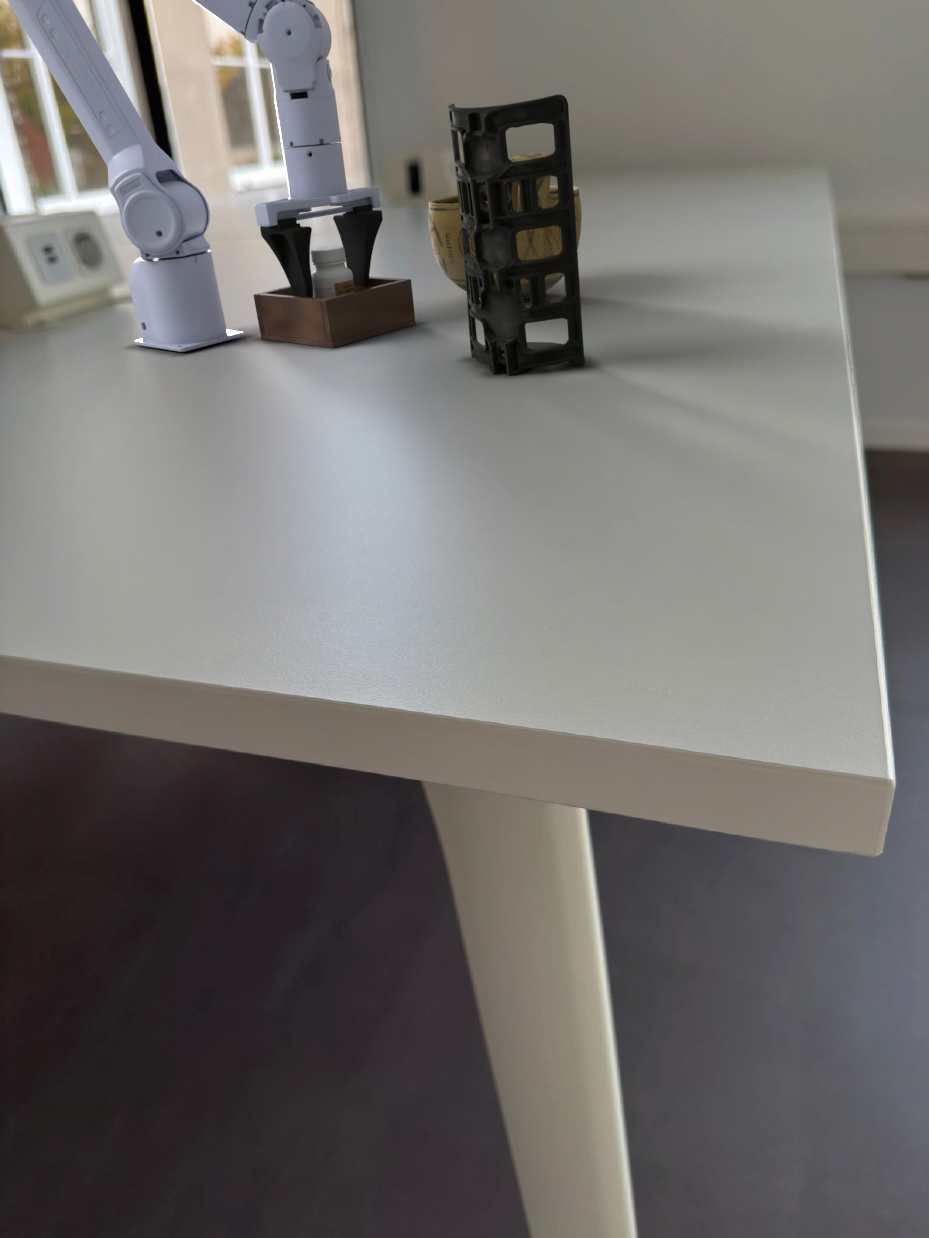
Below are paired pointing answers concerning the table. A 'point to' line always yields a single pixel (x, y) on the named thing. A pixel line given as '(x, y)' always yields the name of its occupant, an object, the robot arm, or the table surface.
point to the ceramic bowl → (529, 242)
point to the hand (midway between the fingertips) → (332, 292)
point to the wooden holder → (336, 313)
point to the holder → (500, 226)
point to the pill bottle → (330, 272)
